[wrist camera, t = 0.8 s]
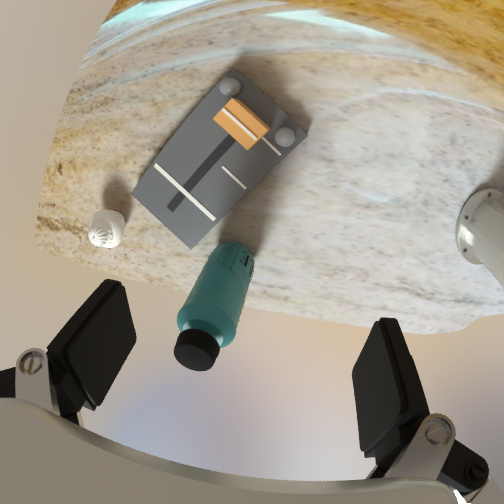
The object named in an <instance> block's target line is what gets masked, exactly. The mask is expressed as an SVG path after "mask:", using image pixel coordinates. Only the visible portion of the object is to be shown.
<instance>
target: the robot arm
mask: <svg viewBox="0 0 504 504" xmlns="http://www.w3.org/2000/svg"><path fill="white" fill-rule="evenodd" d="M456 242H457V246H458V249H459V251H460V253H461V254H462V256H463V257H464V258H465V259H466V260H467V261H469V262H470V263H473V264H483V265H484V266H485V267H486V268H487V269H488V270H489V271H490V272H491V274H492V275H493V276H494V277H495V278H496V279H497V281H498V282H499V283H500V284H501V285H502V286H503V288H504V194H503V193H502V192H501V191H499V190H497V189H494V188H485V189H482V190H479V191H478V192H476V193H475V194H474V195H473V196H472V197H470V198H469V200H468V201H467V202H466V204H465V205H464V207H463V209H462V211H461V213H460V216H459V218H458V223H457V228H456ZM135 343H136V332H135V329H134V325H133V321H132V317H131V313H130V309H129V304H128V300H127V295H126V291H125V287H124V286H122V284H121V282H119V281H116V280H111V279H106V280H104V281H103V282H102V283H101V284H100V286H99V287H98V288H97V289H96V290H95V291H94V292H93V293H92V294H91V296H90V297H89V298H88V299H87V300H86V301H85V302H84V304H83V305H82V306H81V307H80V308H79V309H78V310H77V311H76V313H75V314H74V315H73V316H72V317H71V318H70V320H69V321H68V322H67V323H66V324H65V326H64V327H63V328H62V329H61V330H60V332H59V333H58V334H57V336H56V337H55V338H54V339H53V340H52V342H51V343H50V344H49V345H48V347H47V349H48V351H47V353H45V352H44V351H43V350H41V349H39V348H31V349H28V350H26V351H25V352H23V353H22V354H21V355H20V356H19V358H18V360H17V362H16V367H13V368H10V369H6V370H3V371H0V504H504V493H503V492H502V490H501V489H500V488H499V486H498V485H497V484H496V483H495V481H494V480H493V478H492V477H491V478H490V479H488V475H489V468H488V464H487V463H486V460H485V459H483V458H482V457H481V456H479V455H478V454H476V453H475V452H473V451H472V450H470V449H469V448H467V447H466V446H464V445H463V444H461V443H460V442H458V441H457V440H455V435H456V433H455V427H454V424H453V423H452V421H451V420H450V419H449V418H448V417H446V416H445V415H442V414H437V413H435V414H430V412H429V409H428V405H427V401H426V398H425V394H424V391H423V388H422V385H421V381H420V378H419V375H418V372H417V369H416V366H415V363H414V360H413V358H412V356H411V355H410V353H409V350H408V347H407V344H406V342H405V339H404V336H403V334H402V331H401V328H400V326H399V323H398V321H397V319H395V318H383V317H382V318H380V320H379V321H376V322H375V323H374V325H373V327H372V329H371V332H370V334H369V336H368V339H367V341H366V343H365V345H364V347H363V349H362V351H361V353H360V355H359V357H358V360H357V362H356V363H355V365H354V368H353V371H352V380H353V387H354V395H355V402H356V411H357V420H358V431H359V442H360V449H361V451H364V455H365V458H369V457H375V459H376V466H375V467H374V468H373V470H372V471H371V472H370V474H369V475H368V476H367V477H366V479H363V480H348V481H289V480H274V479H264V478H254V477H247V476H239V475H232V474H226V473H220V472H216V471H211V470H206V469H201V468H197V467H192V466H188V465H184V464H180V463H177V462H173V461H169V460H166V459H163V458H159V457H156V456H153V455H150V454H147V453H144V452H141V451H138V450H135V449H132V448H130V447H127V446H124V445H122V444H119V443H117V442H114V441H112V440H109V439H107V438H105V437H102V436H100V435H98V434H96V433H93V432H91V431H89V430H87V429H85V428H84V424H83V420H82V416H81V412H80V410H81V408H82V406H84V407H86V408H88V409H90V410H93V411H95V409H96V407H97V406H100V405H101V403H102V402H103V400H104V398H105V396H106V394H107V393H108V391H109V389H110V387H111V385H112V383H113V382H114V380H115V378H116V376H117V374H118V373H119V371H120V369H121V367H122V365H123V364H124V362H125V360H126V359H127V356H128V355H129V353H130V352H131V350H132V348H133V346H134V345H135Z"/></svg>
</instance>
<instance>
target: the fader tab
mask: <svg viewBox="0 0 504 504" xmlns="http://www.w3.org/2000/svg"><path fill="white" fill-rule="evenodd" d="M213 120H215V121H216V122H217V123H218V124H219V125H220V126H221V127H222V128H224V129H225V130H226V131H227V132H228V133H229V134H230V135H231V136H232V137H233V138H235V139H236V140H237V141H238V142H239V143H240V144H241V145H242V146H243V147H244V148H245V149H246V150H249V149H250V148H251V147H253V146H254V145H255V144H256V143H257V142H258V141H259V140H260V139H261V138H262V137H263V136H264V135H265V134H266V133H267V132H268V131H269V130H270V129H271V128H270V127H269V126H268V125H267V124H265V123H264V122H263V121H262V120H261V119H260V118H259V117H258V116H257V115H256V114H255V113H254V112H252V111H251V110H250V109H249V108H248V107H247V106H246V105H245V104H243V103H242V102H241V101H240V100H237V99H234V98H232V99H231V100H230V101H229V102H228V103H227V104H226V105H225V106H224V107H223V108H222V109H221V110H220V111H219V112H218V113H217V115H216V116H215V117H214V118H213Z"/></svg>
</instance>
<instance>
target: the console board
mask: <svg viewBox="0 0 504 504" xmlns="http://www.w3.org/2000/svg"><path fill="white" fill-rule="evenodd" d="M232 98H234V99H237V100H240V101H241V102H242V103H243V104H245V105H246V106H247V107H248V108H249V109H250V110H251V111H252V112H254V113H255V114H256V115H257V116H258V117H259V118H260V119H261V120H262V121H263V122H264V123H265V124H267V125H268V126H269V127H270V128H271V129H270V130H269V131H268V132H267V133H266V134H265V135H264V136H263V137H262V138H261V139H260V140H259V141H258V142H257V143H256V144H255V145H254V146H253V147H251V148H250V149H249V150H246V149H245V148H244V147H243V146H242V145H241V144H240V143H239V142H238V141H237V140H236V139H235V138H233V137H232V136H231V135H230V134H229V133H228V132H227V131H226V130H225V129H224V128H222V127H221V126H220V125H219V124H218V123H217V122H216V121H215V120H213V118H214V117H215V116H216V115H217V113H218V112H219V111H220V110H221V109H222V108H223V107H224V106H225V105H226V104H227V103H228V102H229V101H230V100H231V99H232ZM307 136H308V135H307V134H306V133H305V131H304V130H303V129H302V128H301V127H300V126H299V125H297V124H296V123H295V122H294V121H293V120H292V119H291V118H290V117H289V116H288V115H287V114H286V113H285V112H284V111H283V110H282V109H281V108H280V107H279V106H278V105H277V104H275V103H274V102H273V101H272V100H271V99H270V98H269V97H268V96H267V95H266V94H264V93H263V92H262V91H261V90H260V89H259V88H258V87H256V86H255V85H254V84H253V83H252V82H251V81H249V80H248V79H247V78H246V77H245V76H243V75H242V74H241V73H240V72H239V71H237V70H236V69H235V68H232V69H231V70H230V72H229V73H228V74H227V75H226V76H225V77H224V78H223V79H222V80H221V81H220V82H219V83H218V84H217V85H216V86H215V87H214V88H213V89H212V90H211V91H210V93H209V94H208V95H207V96H206V97H205V98H204V99H203V100H202V101H201V103H200V104H199V105H198V106H197V107H196V108H195V109H194V111H193V112H192V113H191V114H190V115H189V116H188V118H187V119H186V120H185V121H184V122H183V124H182V125H181V126H180V127H179V129H178V130H177V131H176V132H175V134H174V135H173V136H172V137H171V139H170V140H169V141H168V142H167V144H166V145H165V146H164V148H163V149H162V150H161V152H160V153H159V154H158V156H157V157H156V158H155V160H154V161H153V162H152V164H151V165H150V167H149V168H148V169H147V171H146V172H145V174H144V175H143V176H142V178H141V179H140V181H139V182H138V184H137V185H136V187H135V188H134V190H133V191H132V193H131V194H132V195H133V196H134V197H135V198H136V199H137V200H138V201H139V202H140V203H141V204H142V205H143V206H144V207H146V208H147V209H148V210H149V211H150V212H151V213H152V214H153V215H154V216H155V217H156V218H157V219H158V220H159V221H161V222H162V223H163V224H164V225H165V226H166V227H167V228H168V229H169V230H170V231H171V232H172V233H174V234H175V235H176V236H177V237H178V238H179V239H180V240H181V241H182V242H183V243H185V244H186V245H187V246H188V247H189V248H190V249H192V248H193V247H194V246H195V245H196V244H197V243H198V242H199V241H200V240H201V239H202V238H203V237H204V236H205V235H206V234H207V233H208V232H209V231H210V230H211V229H212V228H213V227H214V226H215V225H216V224H217V223H218V222H219V221H220V220H221V219H222V218H223V217H224V216H225V215H226V214H227V213H228V212H229V211H230V210H231V209H232V208H233V207H234V206H235V205H236V204H237V203H238V202H239V201H240V200H241V199H242V198H243V197H244V196H245V195H246V194H247V193H248V192H249V191H250V190H251V189H252V188H253V187H254V186H255V185H256V184H257V183H258V182H259V181H260V180H261V179H262V178H263V177H264V176H265V175H266V174H267V173H268V172H269V171H270V170H271V169H273V168H274V167H275V166H276V165H277V164H278V163H279V162H280V161H281V160H282V159H283V158H284V157H285V156H286V155H287V154H288V153H290V152H291V151H292V150H293V149H294V148H295V147H296V146H297V145H298V144H299V143H300V142H301V141H303V140H304V139H305V138H306V137H307Z"/></svg>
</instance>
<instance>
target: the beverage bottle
mask: <svg viewBox="0 0 504 504" xmlns="http://www.w3.org/2000/svg"><path fill="white" fill-rule="evenodd" d="M210 254H211V256H210V255H209V257H210V258H209V259H208V260H206V261H207V263H206V262H205V263H206V265H205V264H204V265H205V266H204V267H203V270H202V269H201V270H202V272H201V274H200V275H199V277H198V280H197V282H195V283H196V284H195V285H194V287H193V289H192V291H191V292H190V294H189V296H188V298H187V300H186V301H185V303H184V305H183V307H182V308H181V310H180V311H179V313H178V316H177V324H178V327H179V330H180V332H181V333H180V334H179V336H178V338H177V342H176V345H175V348H174V355H175V358H176V359H177V361H178V362H179V363H180V364H182V365H183V366H185V367H186V368H188V369H191V370H195V371H206V370H209V369H210V368H211V367H212V366H213V364H214V362H215V360H216V358H217V356H218V355H219V351H220V348H222V347H225V346H227V345H229V344H230V343H231V342H232V341H233V339H234V337H235V334H236V328H237V324H238V321H239V317H240V314H241V311H242V308H243V304H244V302H245V297H246V293H247V290H248V286H249V283H250V280H252V279H251V278H252V276H253V274H252V271H253V272H254V269H253V267H254V261H253V256H252V255H251V253H250V251H249V250H248V249H247V248H246V247H244V246H243V245H241V244H238V243H235V242H227V243H223V244H221V245H219V246H218V247H216V248H215V249H214V251H213V252H212V253H210ZM251 275H252V276H251Z"/></svg>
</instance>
